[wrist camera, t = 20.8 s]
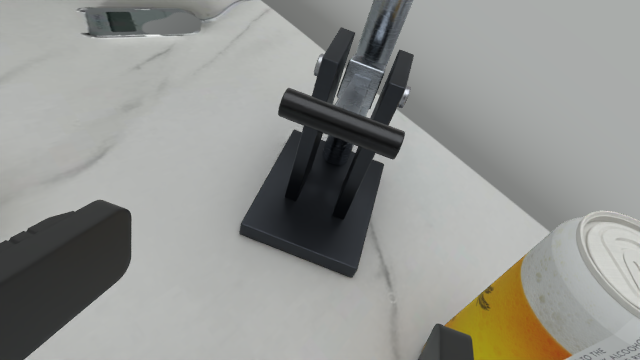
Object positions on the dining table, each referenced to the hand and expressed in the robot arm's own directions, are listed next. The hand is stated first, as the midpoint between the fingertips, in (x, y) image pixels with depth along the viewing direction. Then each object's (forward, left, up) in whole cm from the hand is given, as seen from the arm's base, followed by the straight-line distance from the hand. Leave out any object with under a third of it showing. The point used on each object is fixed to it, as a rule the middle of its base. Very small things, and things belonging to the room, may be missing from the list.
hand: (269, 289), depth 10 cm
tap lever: (+2, -13, -4) cm, 13 cm away
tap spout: (+4, -25, -15) cm, 29 cm away
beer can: (-12, -9, -16) cm, 22 cm away
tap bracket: (+3, -17, -16) cm, 24 cm away
